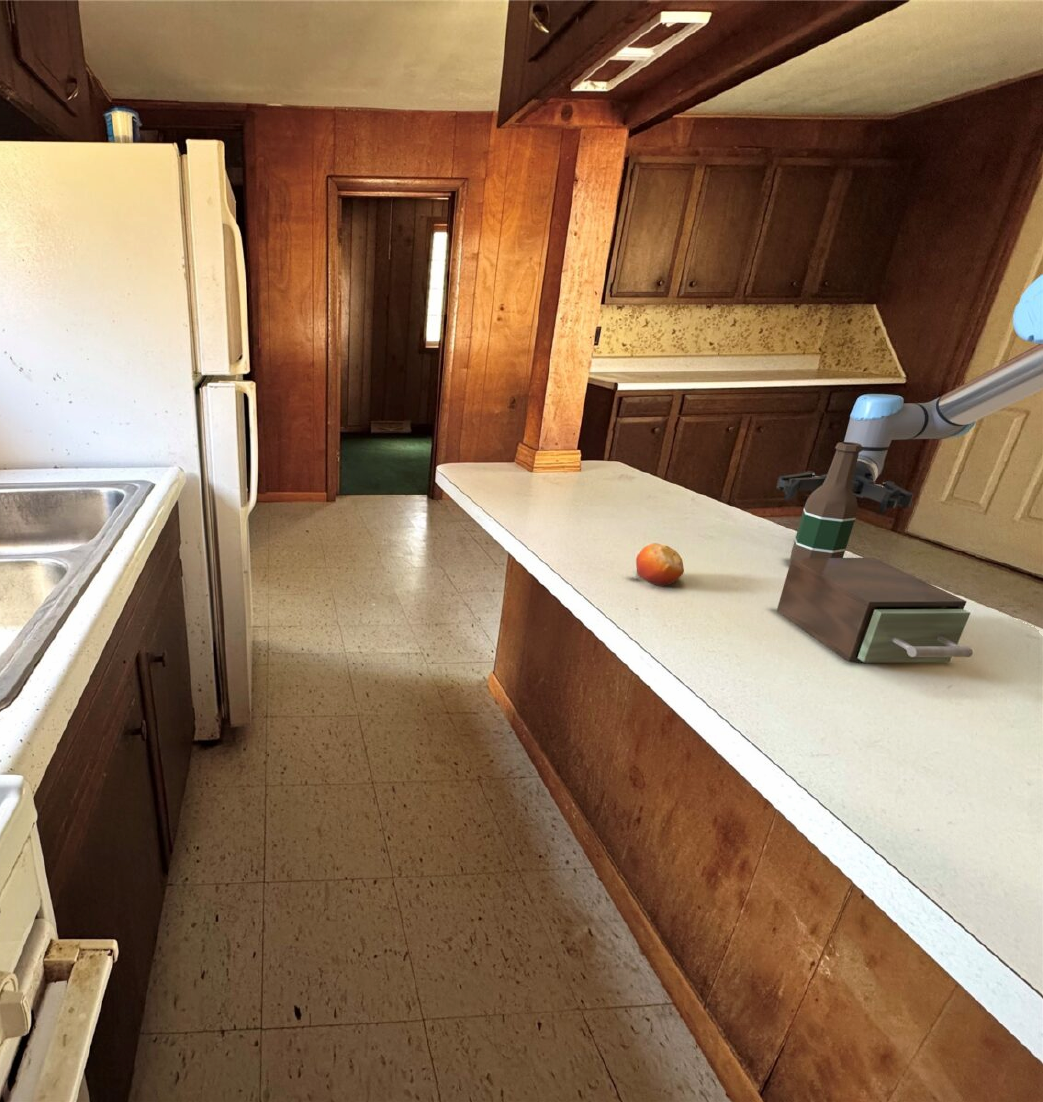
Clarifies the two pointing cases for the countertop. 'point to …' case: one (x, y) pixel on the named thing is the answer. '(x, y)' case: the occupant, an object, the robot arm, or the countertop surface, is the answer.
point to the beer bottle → (830, 509)
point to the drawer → (914, 635)
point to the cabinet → (850, 598)
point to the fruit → (659, 564)
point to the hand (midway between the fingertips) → (833, 500)
